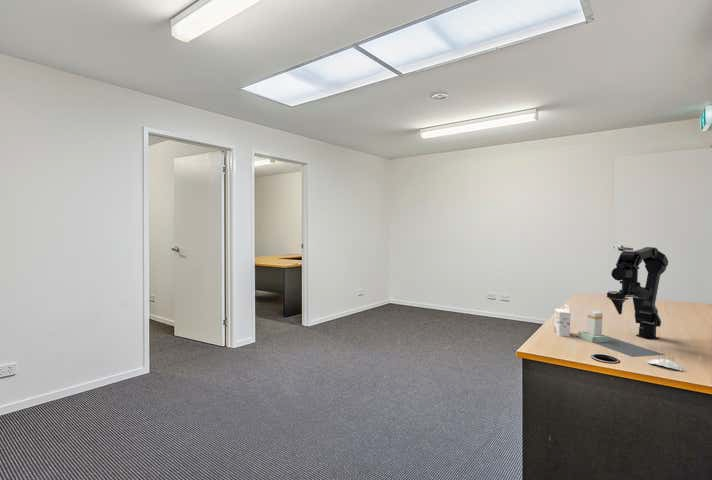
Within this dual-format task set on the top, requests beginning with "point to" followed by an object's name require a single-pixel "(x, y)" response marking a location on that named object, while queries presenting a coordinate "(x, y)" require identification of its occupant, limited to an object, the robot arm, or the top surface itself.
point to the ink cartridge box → (562, 321)
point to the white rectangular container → (594, 323)
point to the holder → (593, 337)
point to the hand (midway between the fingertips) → (628, 314)
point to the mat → (626, 348)
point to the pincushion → (667, 364)
